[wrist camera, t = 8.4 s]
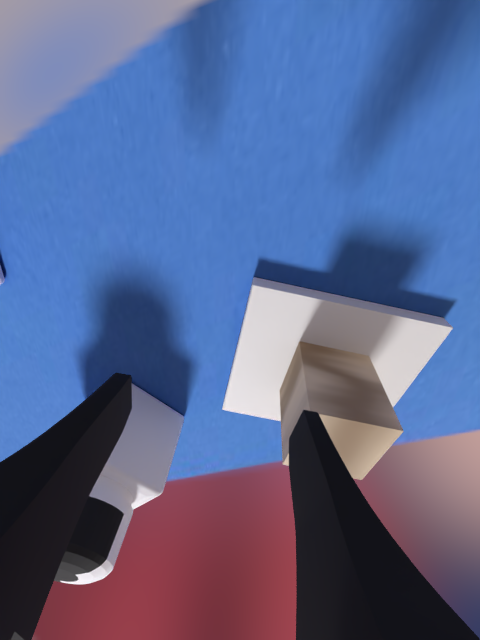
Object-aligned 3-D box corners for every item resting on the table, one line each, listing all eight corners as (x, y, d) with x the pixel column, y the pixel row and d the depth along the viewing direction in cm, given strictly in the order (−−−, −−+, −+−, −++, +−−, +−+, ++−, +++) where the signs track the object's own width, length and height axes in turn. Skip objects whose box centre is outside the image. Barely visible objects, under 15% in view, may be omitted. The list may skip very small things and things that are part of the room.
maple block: (279, 390, 22) (282, 464, 17) (299, 341, 19) (310, 412, 14) (340, 402, 22) (361, 479, 17) (369, 356, 20) (403, 431, 15)
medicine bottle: (85, 410, 28) (-19, 566, 18) (122, 374, 25) (20, 539, 14) (146, 444, 30) (84, 599, 20) (186, 415, 27) (137, 583, 17)
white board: (224, 398, 25) (222, 409, 24) (253, 276, 18) (252, 285, 17) (365, 426, 25) (369, 438, 24) (443, 317, 19) (453, 328, 18)
